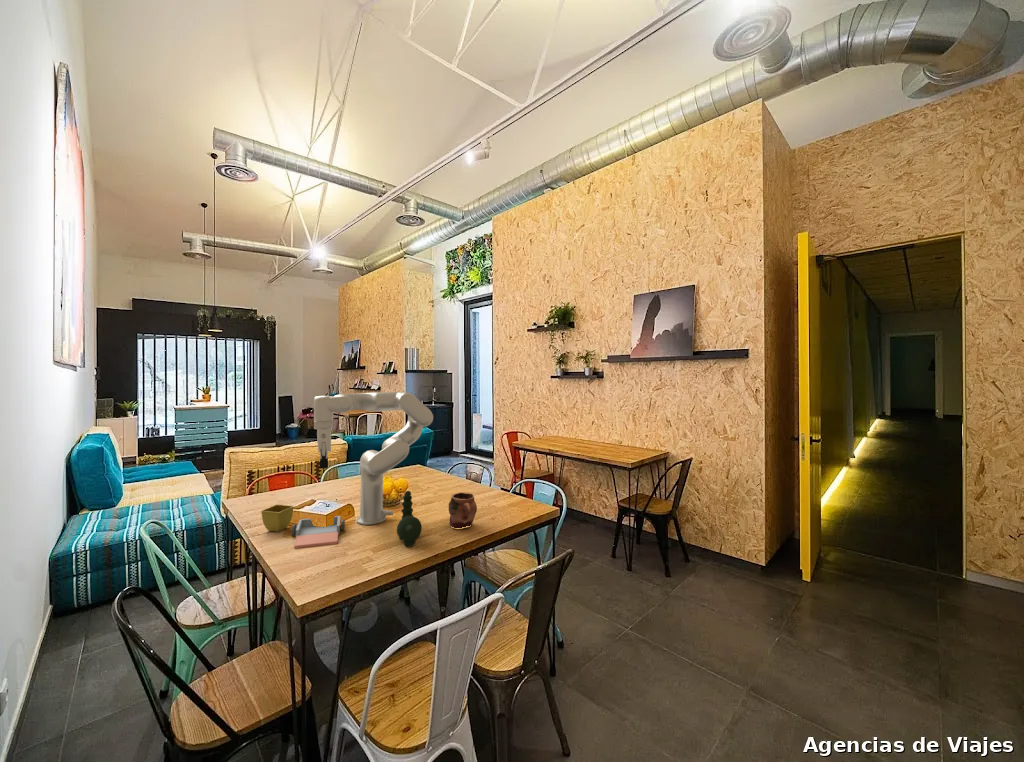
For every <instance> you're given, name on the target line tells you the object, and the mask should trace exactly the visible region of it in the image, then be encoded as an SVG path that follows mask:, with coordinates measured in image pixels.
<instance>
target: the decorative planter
mask: <svg viewBox="0 0 1024 762" xmlns="http://www.w3.org/2000/svg"><path fill="white" fill-rule="evenodd" d="M477 511H478V506H477V503H476V500H475V496H474V494H473V493H468V492H467V493H466V492H457V493H456V492H455V493H453V494H452V495H451V497H450V501H449V503H448V513H449V515H450V516H449V525H451V526H452V527H454V528H462V527H466V526H470V525H472V526H473V523H474V519H475V517H476V514H477ZM451 526H450V527H451Z"/></svg>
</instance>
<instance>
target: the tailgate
mask: <svg viewBox="0 0 1024 762" xmlns="http://www.w3.org/2000/svg"><path fill="white" fill-rule="evenodd" d="M338 534H339V531H336V532H326V533H317V534H307V535H297V536H296V535H295V541H294V545H293V546H294V549H299V548H310V547H318V546H319V547H320V546H327V545H335V544H338V539H339V536H338ZM339 535H340V534H339Z"/></svg>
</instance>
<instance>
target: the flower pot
mask: <svg viewBox="0 0 1024 762" xmlns="http://www.w3.org/2000/svg"><path fill="white" fill-rule="evenodd" d="M260 512H261V518H262V519H261V520H262V523H263V526H264V527H265V528H266V530H267V531H270V532H280V531H283V530H284V529H287V528H288V526H289V525H290V523H291V521H292V518H293V513H294V505H286V504H275V505H273V506H270V507H267V508H264V509H261V511H260Z"/></svg>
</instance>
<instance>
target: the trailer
mask: <svg viewBox="0 0 1024 762" xmlns="http://www.w3.org/2000/svg"><path fill="white" fill-rule="evenodd" d="M334 516H335V517H334V524H333V525H330V526H328V527H324V528H323V527H316V526H313V524H312V521H311V519H310V518H302V519H299V520H298V522H297V523H293V524H292V525H291V536H295V537H296V536H297V535H307V534H317V533H326V532H336V531H339V534H338V537H339V536H340V535H341V533H340V531H345V528H346V527H345V526H346V519H345V518H344V519H341V515H334Z"/></svg>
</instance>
